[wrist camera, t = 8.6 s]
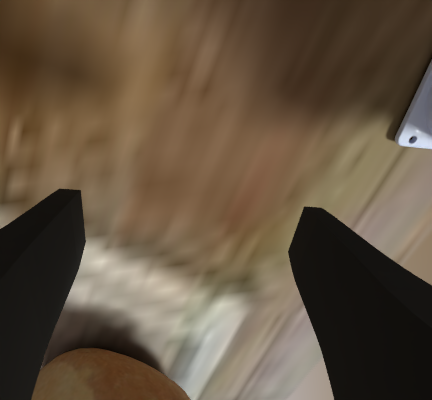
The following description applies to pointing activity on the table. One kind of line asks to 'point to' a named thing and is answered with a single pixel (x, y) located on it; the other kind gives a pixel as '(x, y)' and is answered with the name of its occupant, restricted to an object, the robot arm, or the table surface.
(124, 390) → the jug
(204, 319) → the table surface
